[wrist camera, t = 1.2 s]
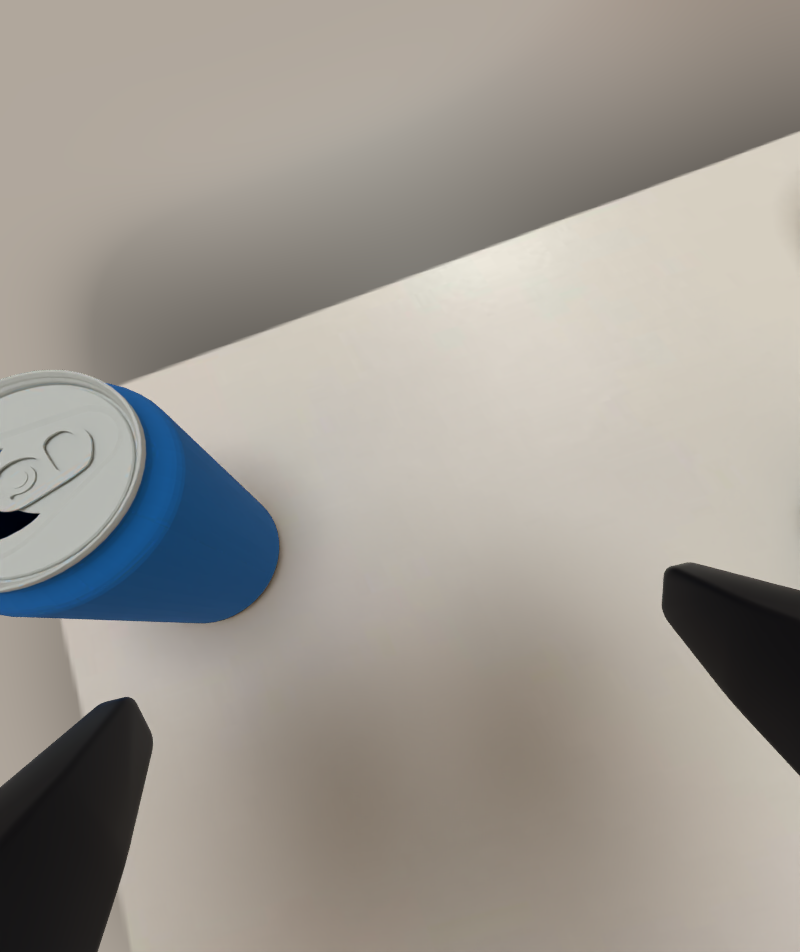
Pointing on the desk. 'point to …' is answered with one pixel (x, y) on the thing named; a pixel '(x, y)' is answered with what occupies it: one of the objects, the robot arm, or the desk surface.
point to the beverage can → (119, 510)
